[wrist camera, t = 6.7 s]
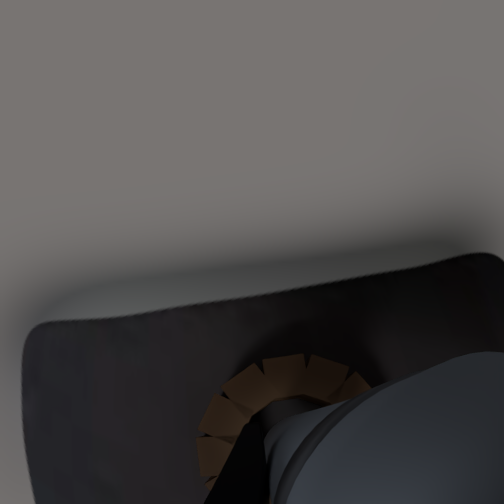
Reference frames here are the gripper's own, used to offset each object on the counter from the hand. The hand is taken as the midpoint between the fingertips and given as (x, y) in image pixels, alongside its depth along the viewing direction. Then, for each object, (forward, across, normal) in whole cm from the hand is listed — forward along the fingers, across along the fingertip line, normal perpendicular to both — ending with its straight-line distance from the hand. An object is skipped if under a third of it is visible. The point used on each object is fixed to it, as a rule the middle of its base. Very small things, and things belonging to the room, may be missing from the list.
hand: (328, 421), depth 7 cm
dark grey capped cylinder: (+4, 0, +6) cm, 7 cm away
